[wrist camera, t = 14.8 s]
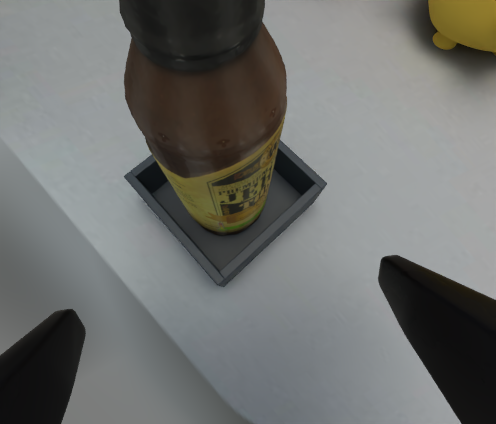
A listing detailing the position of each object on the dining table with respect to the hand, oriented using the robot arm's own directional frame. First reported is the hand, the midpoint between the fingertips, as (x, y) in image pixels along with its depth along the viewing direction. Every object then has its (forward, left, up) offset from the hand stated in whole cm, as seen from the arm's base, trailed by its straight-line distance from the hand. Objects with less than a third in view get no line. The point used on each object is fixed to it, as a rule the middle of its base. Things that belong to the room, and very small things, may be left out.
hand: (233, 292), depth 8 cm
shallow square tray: (+4, +6, -14) cm, 16 cm away
